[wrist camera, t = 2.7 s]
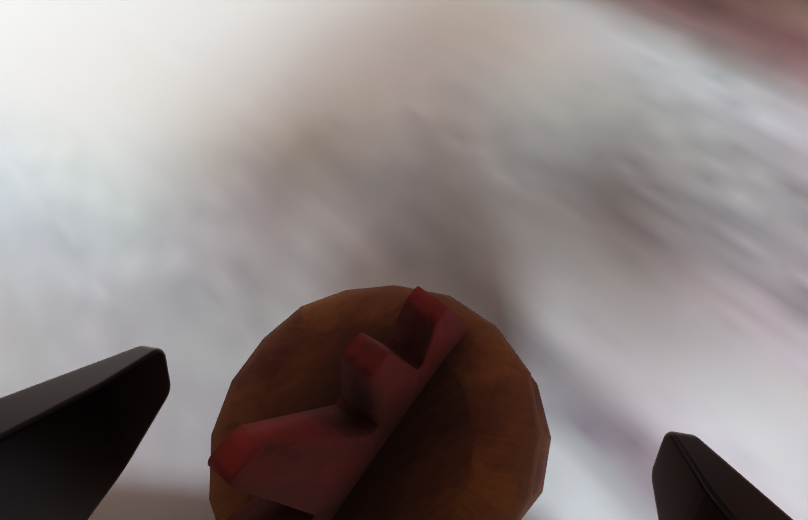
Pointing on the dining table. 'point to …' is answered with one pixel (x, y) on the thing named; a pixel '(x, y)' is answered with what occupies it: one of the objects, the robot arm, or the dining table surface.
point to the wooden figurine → (380, 417)
